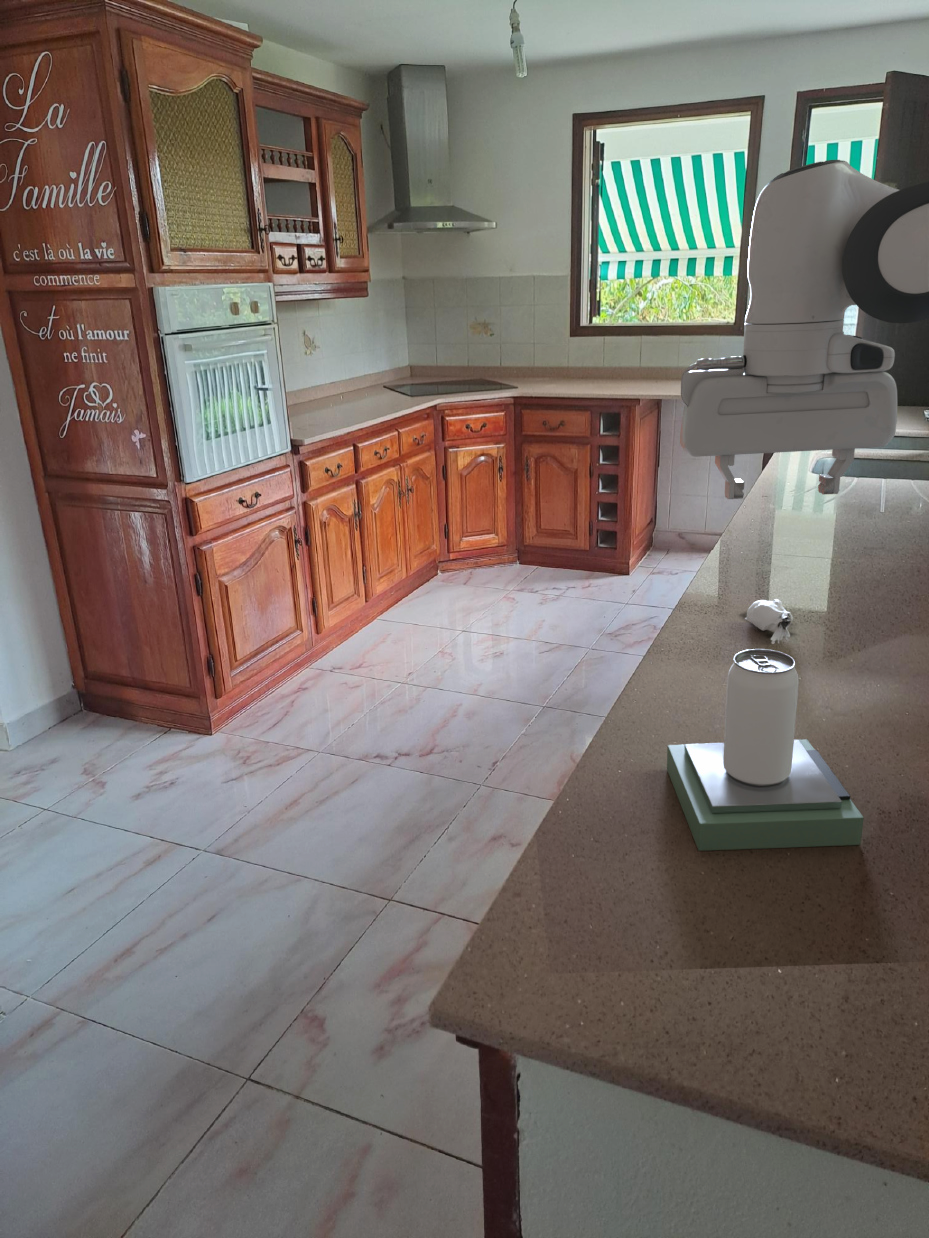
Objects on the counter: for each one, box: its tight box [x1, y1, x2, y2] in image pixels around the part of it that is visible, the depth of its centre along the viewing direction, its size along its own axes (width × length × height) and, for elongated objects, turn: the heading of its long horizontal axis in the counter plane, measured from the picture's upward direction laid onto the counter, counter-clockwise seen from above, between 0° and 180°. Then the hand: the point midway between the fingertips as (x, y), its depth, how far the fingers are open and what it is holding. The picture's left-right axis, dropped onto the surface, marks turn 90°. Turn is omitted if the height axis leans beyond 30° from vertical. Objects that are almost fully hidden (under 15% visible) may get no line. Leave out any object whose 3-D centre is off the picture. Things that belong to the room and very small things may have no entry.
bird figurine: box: [743, 598, 794, 645], centre depth 130 cm, size 5×7×10 cm
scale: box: [666, 739, 864, 852], centre depth 88 cm, size 15×15×3 cm
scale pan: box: [684, 739, 842, 813], centre depth 88 cm, size 12×12×1 cm
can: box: [723, 648, 800, 786], centre depth 86 cm, size 6×6×12 cm
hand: (780, 495), depth 89 cm, fingers open, 8 cm apart
